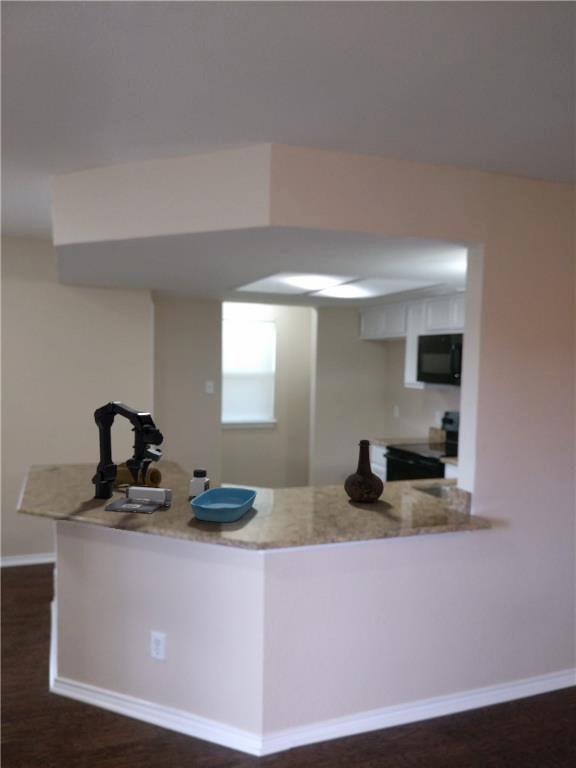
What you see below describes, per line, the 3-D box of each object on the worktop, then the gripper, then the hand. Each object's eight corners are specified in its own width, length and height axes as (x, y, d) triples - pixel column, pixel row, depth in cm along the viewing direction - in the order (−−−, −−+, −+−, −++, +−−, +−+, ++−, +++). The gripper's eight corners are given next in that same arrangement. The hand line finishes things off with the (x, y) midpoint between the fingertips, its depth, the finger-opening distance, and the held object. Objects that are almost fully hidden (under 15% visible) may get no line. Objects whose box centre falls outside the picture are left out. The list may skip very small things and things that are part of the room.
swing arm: (173, 498, 237) (173, 489, 237) (170, 501, 233) (170, 491, 233) (129, 495, 240) (130, 486, 240) (125, 498, 236) (125, 488, 236)
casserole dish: (213, 499, 248) (213, 483, 248) (261, 503, 244) (262, 487, 244) (181, 523, 212) (182, 504, 212) (237, 528, 208) (238, 510, 208)
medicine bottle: (204, 497, 250) (204, 471, 250) (189, 496, 251) (189, 470, 251) (209, 493, 257) (210, 468, 257) (194, 492, 258) (195, 467, 258)
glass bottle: (390, 500, 256) (392, 440, 254) (368, 507, 243) (371, 444, 241) (358, 493, 268) (360, 436, 266) (336, 499, 255) (338, 439, 253)
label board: (104, 509, 226) (104, 504, 226) (121, 500, 242) (121, 495, 241) (159, 513, 223) (159, 508, 222) (173, 503, 238) (173, 498, 238)
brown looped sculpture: (132, 464, 282) (164, 462, 271) (128, 490, 278) (161, 489, 268) (104, 458, 267) (137, 456, 256) (100, 485, 263) (134, 484, 252)
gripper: (152, 447, 220) (151, 486, 221) (167, 440, 239) (166, 476, 239) (125, 446, 221) (124, 484, 222) (142, 439, 240) (141, 474, 241)
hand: (140, 479), depth 231 cm, fingers open, 9 cm apart
